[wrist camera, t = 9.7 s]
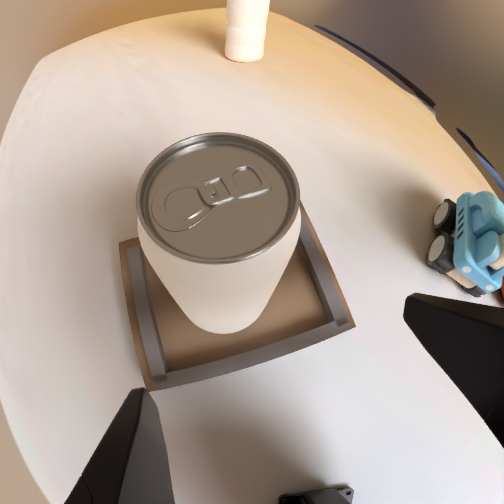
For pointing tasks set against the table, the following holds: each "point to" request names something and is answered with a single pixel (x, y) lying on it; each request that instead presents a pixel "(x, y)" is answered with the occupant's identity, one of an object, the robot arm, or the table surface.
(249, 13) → the water bottle
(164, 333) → the dock
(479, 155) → the table surface
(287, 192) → the can
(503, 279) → the fruit
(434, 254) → the toy excavator
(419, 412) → the table surface
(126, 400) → the robot arm
